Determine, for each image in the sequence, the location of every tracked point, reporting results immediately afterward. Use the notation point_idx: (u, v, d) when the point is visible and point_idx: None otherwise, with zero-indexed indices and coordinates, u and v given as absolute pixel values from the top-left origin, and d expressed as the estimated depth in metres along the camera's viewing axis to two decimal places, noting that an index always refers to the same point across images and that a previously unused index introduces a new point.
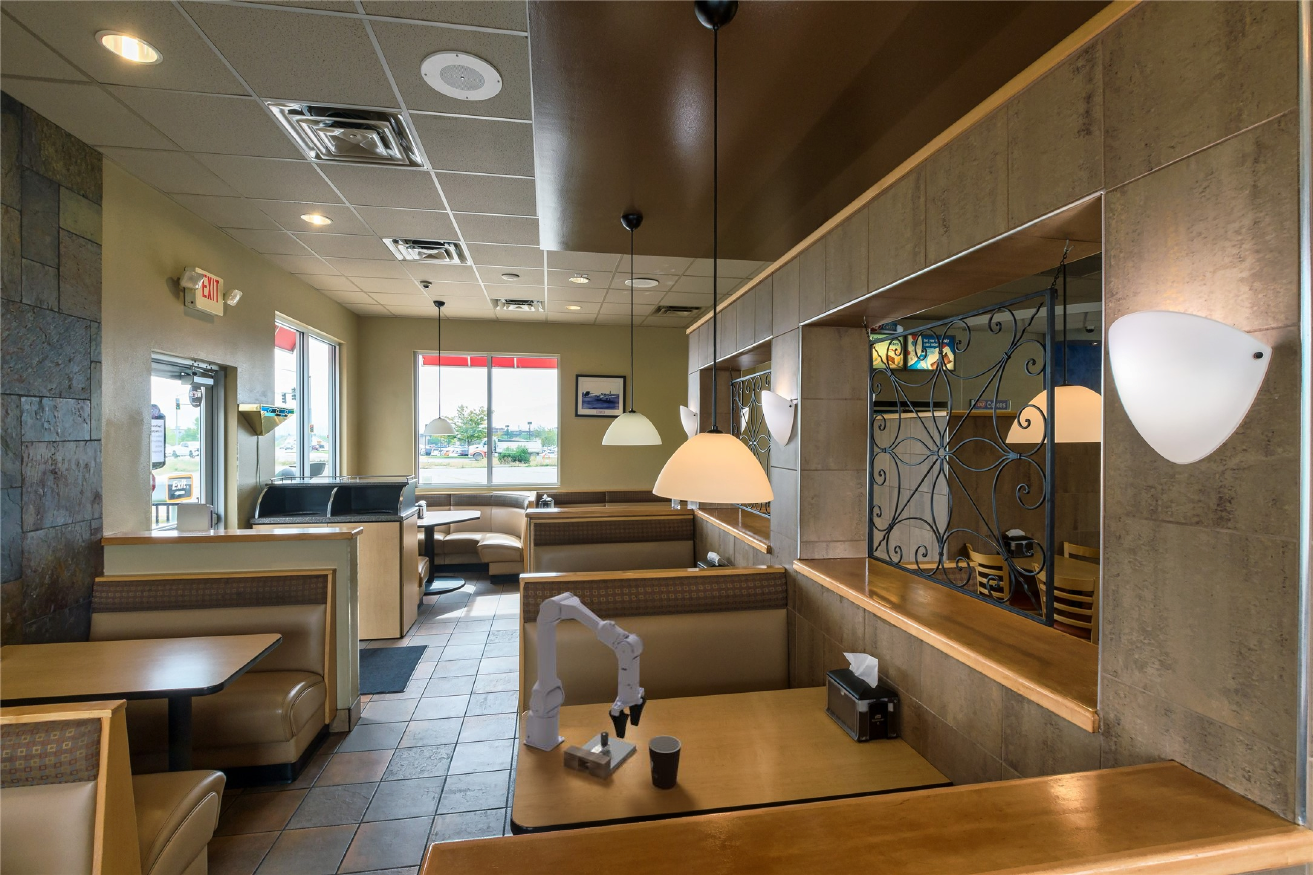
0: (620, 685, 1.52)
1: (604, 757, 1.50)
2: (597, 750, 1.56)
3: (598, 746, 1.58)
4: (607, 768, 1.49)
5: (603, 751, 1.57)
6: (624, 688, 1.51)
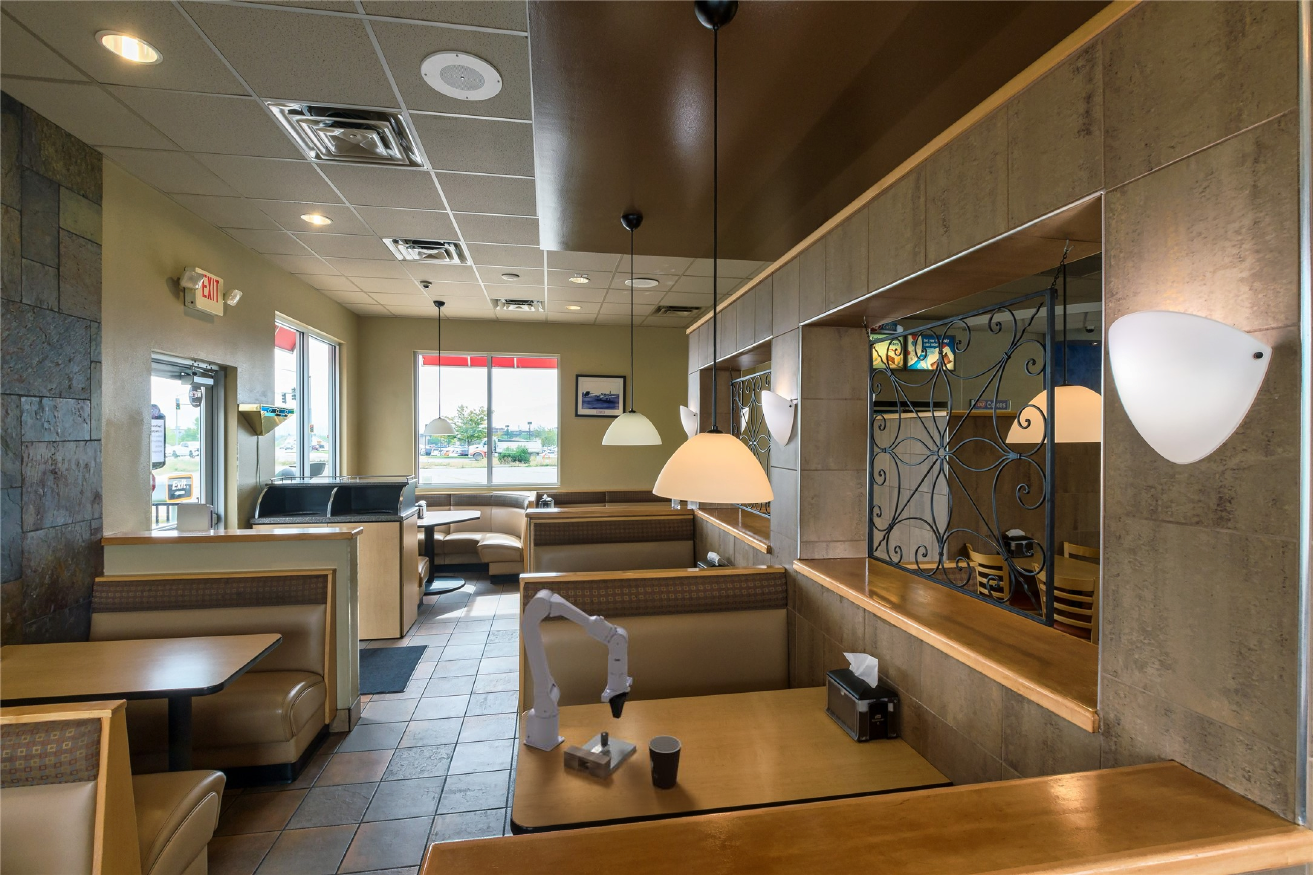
0: (609, 674, 1.64)
1: (604, 757, 1.50)
2: (597, 750, 1.56)
3: (598, 746, 1.58)
4: (607, 768, 1.49)
5: (603, 751, 1.57)
6: (613, 677, 1.63)
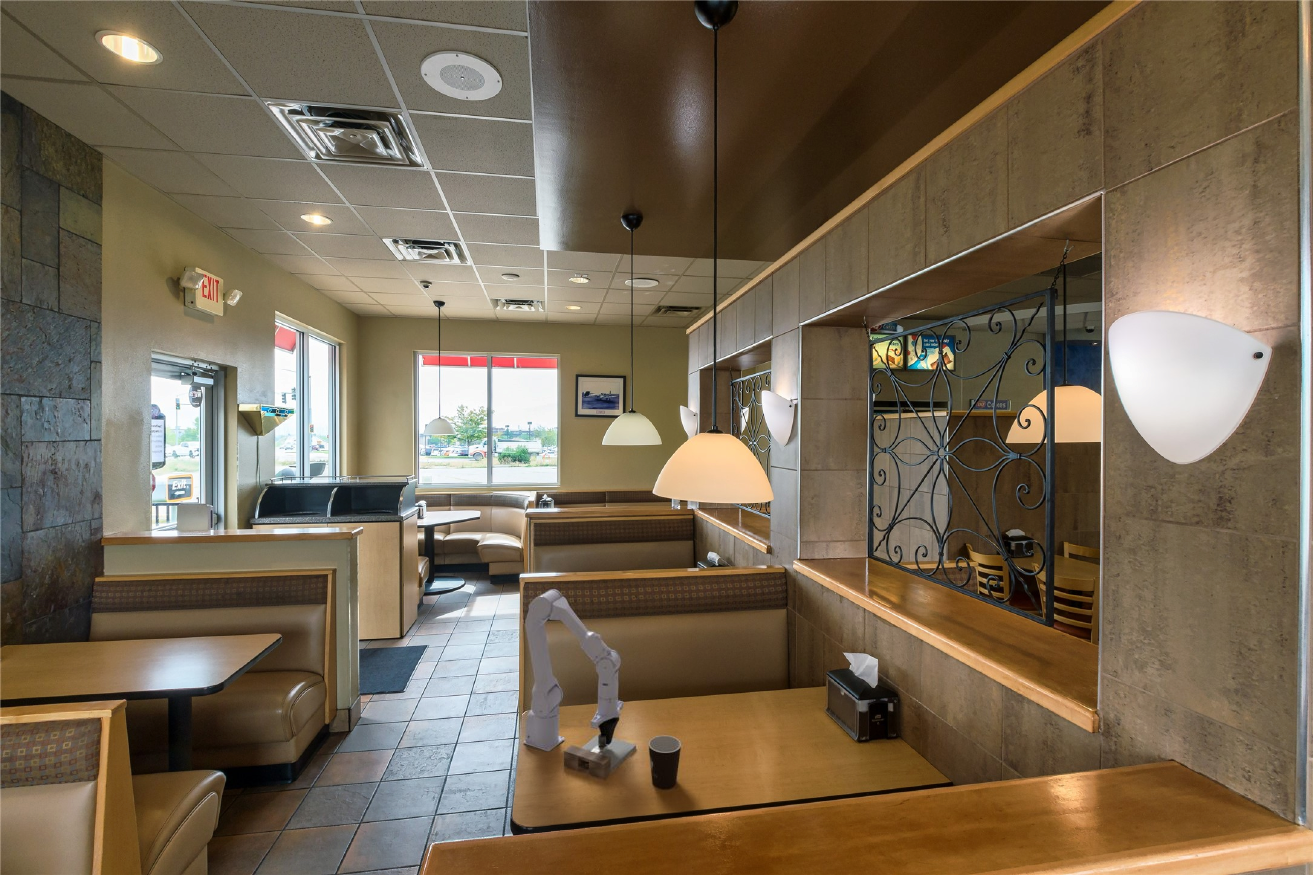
0: (600, 699, 1.59)
1: (604, 757, 1.50)
2: (595, 752, 1.55)
3: (595, 748, 1.57)
4: (607, 768, 1.49)
5: None
6: (603, 702, 1.58)
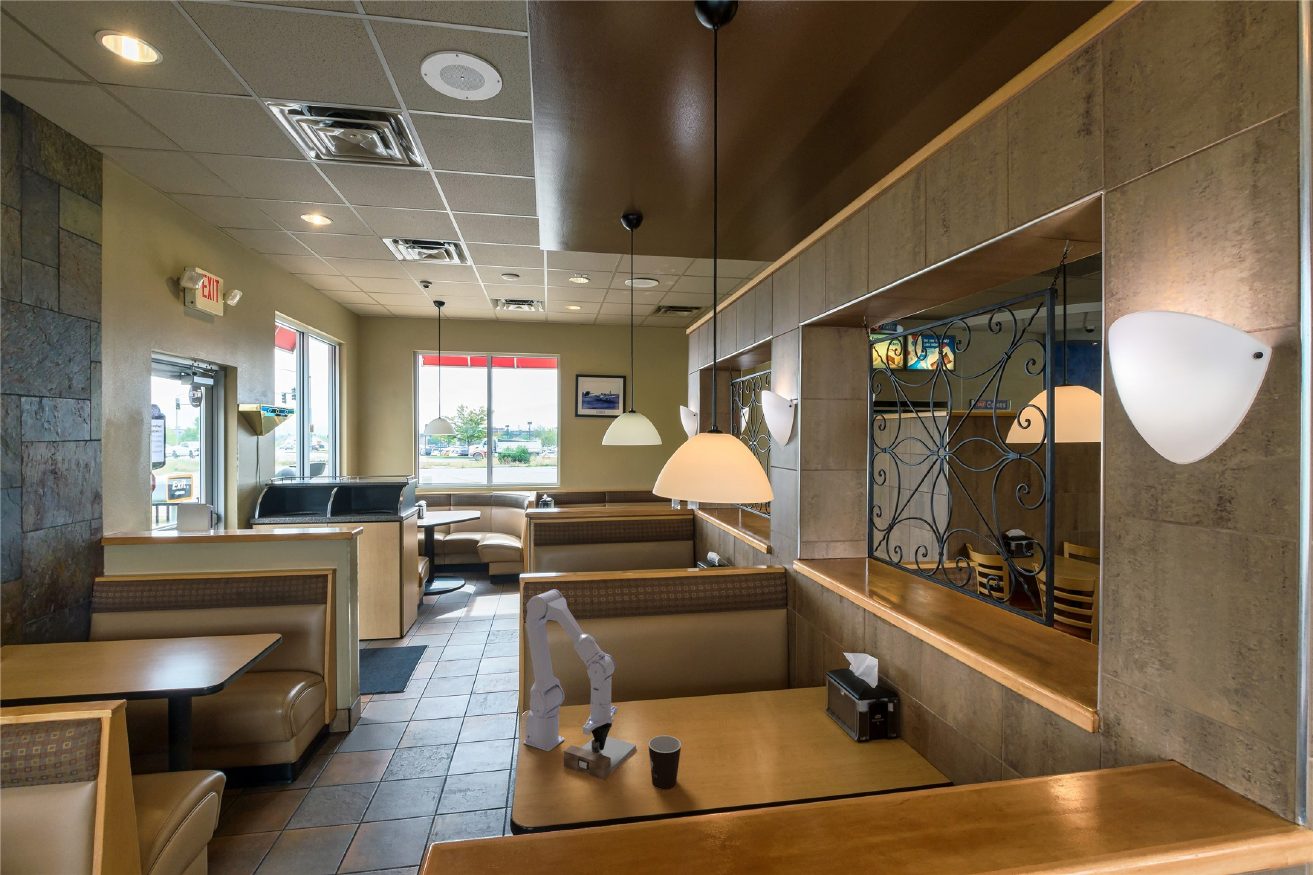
0: (592, 704, 1.56)
1: (604, 757, 1.50)
2: None
3: None
4: (607, 768, 1.49)
5: None
6: (596, 707, 1.55)
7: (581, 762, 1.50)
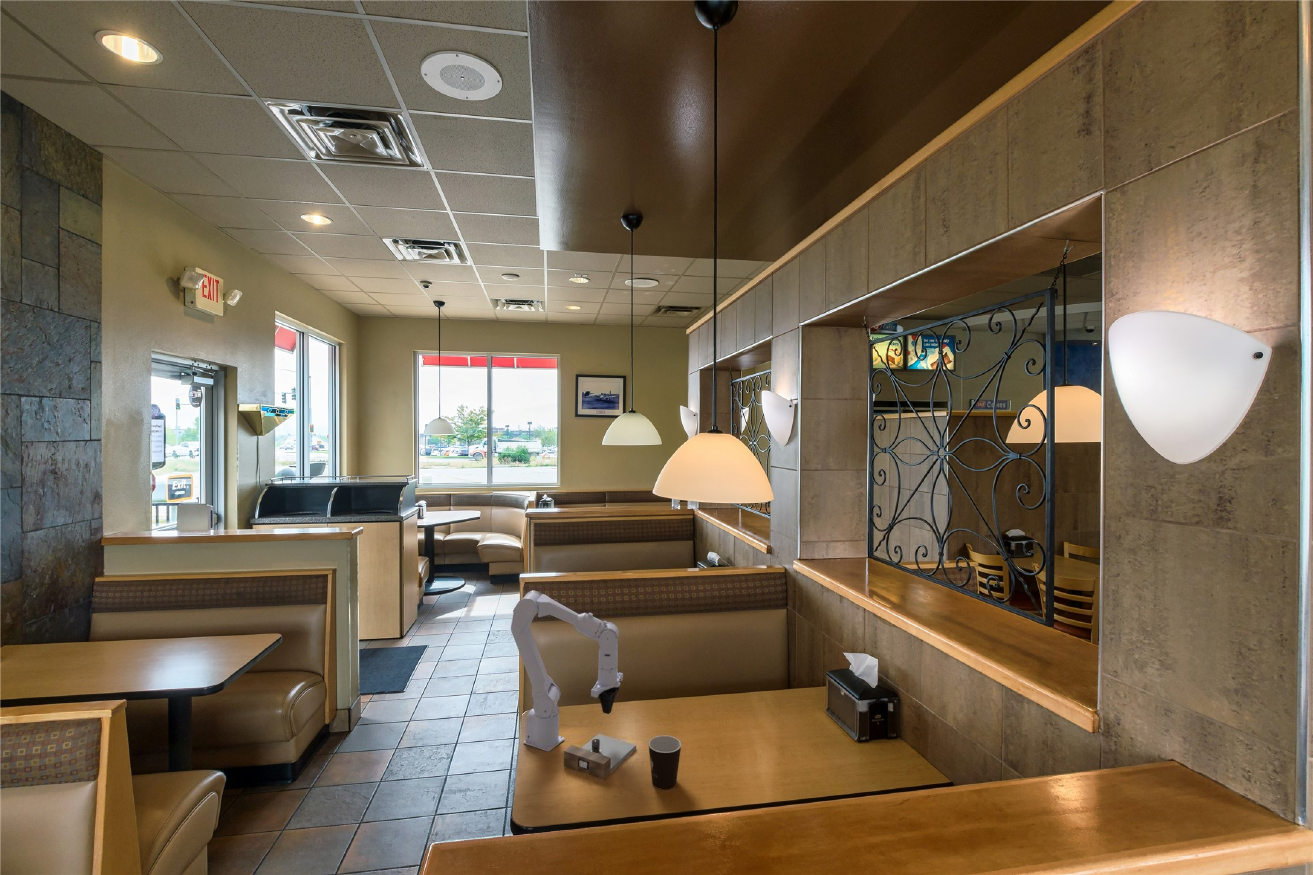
0: (600, 669, 1.64)
1: (604, 757, 1.50)
2: None
3: None
4: (607, 768, 1.49)
5: None
6: (603, 672, 1.63)
7: (581, 762, 1.50)
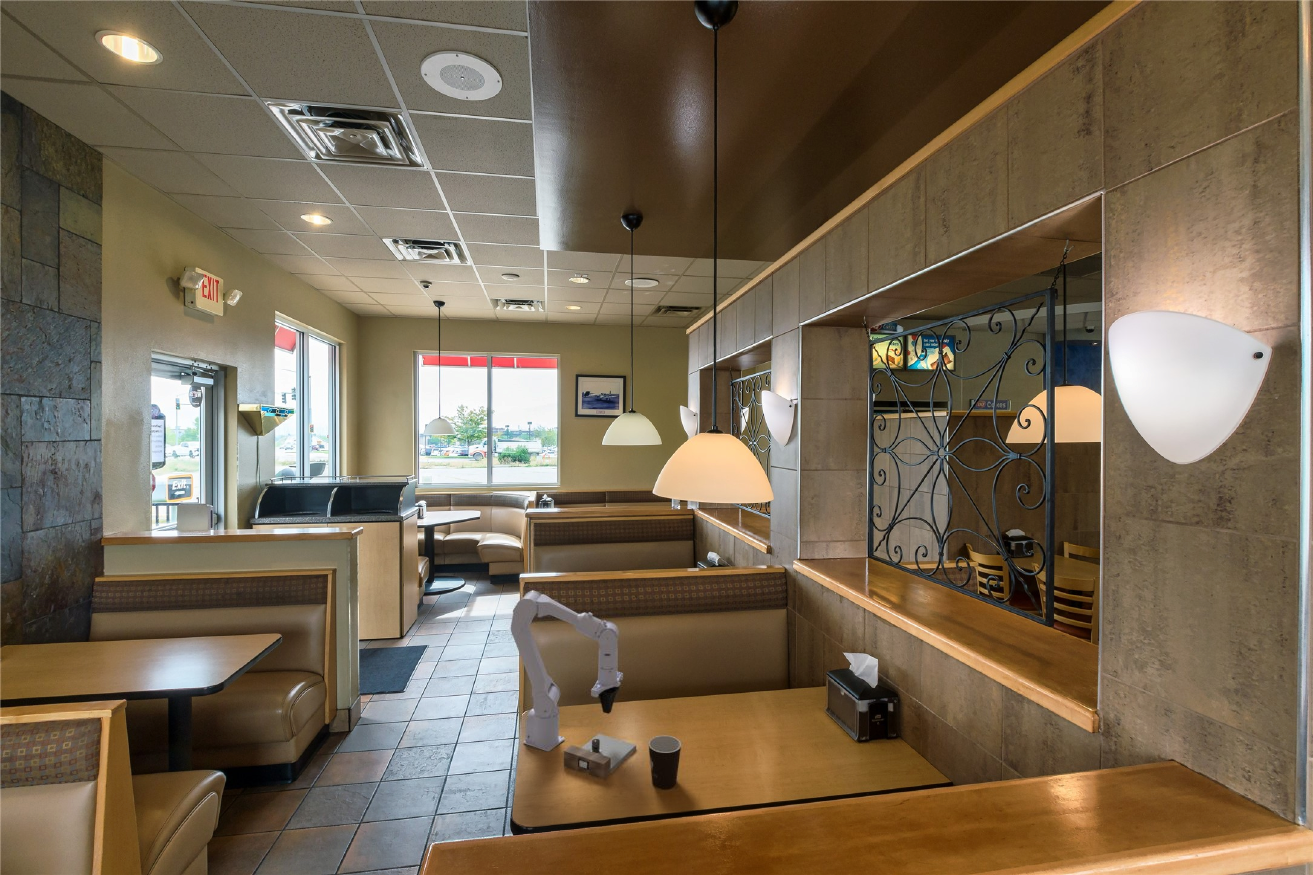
0: (600, 669, 1.64)
1: (604, 757, 1.50)
2: None
3: None
4: (607, 768, 1.49)
5: None
6: (603, 672, 1.63)
7: (581, 762, 1.50)
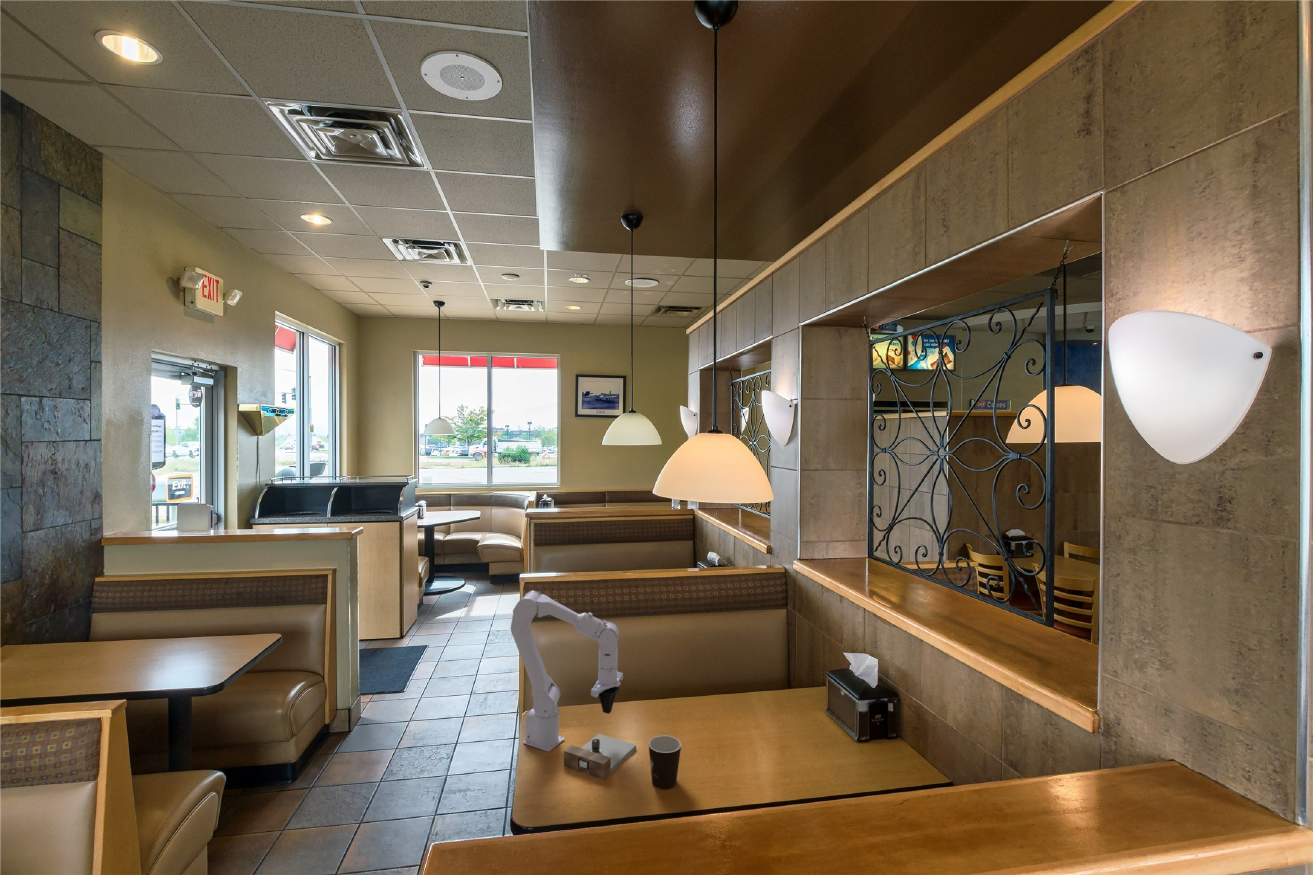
0: (600, 669, 1.64)
1: (604, 757, 1.50)
2: None
3: None
4: (607, 768, 1.49)
5: None
6: (603, 672, 1.63)
7: (581, 762, 1.50)
